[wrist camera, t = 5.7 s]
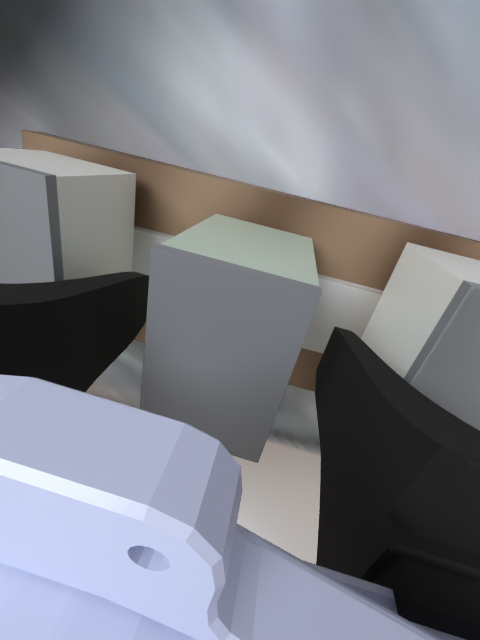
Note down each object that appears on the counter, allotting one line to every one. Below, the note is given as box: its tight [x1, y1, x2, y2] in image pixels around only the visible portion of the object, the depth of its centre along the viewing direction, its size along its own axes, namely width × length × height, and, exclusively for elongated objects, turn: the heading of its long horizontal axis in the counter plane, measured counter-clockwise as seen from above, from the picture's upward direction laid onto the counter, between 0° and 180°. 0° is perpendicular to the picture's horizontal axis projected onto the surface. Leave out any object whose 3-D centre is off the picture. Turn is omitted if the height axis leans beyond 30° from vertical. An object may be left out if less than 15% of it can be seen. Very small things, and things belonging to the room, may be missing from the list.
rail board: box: [21, 130, 480, 391], centre depth 15 cm, size 22×9×2 cm, turn 78°
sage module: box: [140, 214, 322, 463], centre depth 11 cm, size 4×6×6 cm, turn 168°
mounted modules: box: [0, 148, 480, 431], centre depth 12 cm, size 19×8×5 cm, turn 78°
